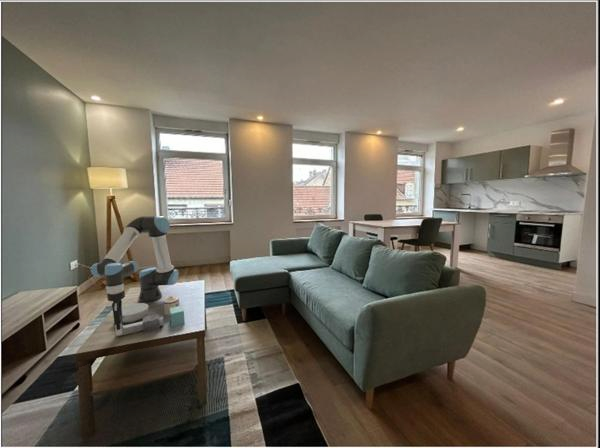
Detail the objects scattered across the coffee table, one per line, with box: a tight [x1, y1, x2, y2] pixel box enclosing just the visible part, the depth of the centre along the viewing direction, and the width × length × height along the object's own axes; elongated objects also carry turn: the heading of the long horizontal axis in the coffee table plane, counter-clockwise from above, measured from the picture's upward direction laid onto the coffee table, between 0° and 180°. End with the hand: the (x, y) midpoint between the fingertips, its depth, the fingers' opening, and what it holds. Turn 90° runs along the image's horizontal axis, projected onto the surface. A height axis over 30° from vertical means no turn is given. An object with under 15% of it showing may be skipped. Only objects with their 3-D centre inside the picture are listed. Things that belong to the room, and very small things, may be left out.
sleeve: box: [142, 313, 161, 334], centre depth 140 cm, size 7×8×6 cm
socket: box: [169, 305, 185, 328], centre depth 147 cm, size 9×7×8 cm
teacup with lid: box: [163, 294, 180, 317], centre depth 161 cm, size 12×9×12 cm
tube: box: [114, 315, 164, 337], centre depth 137 cm, size 4×23×10 cm, turn 122°
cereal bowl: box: [122, 302, 149, 323], centre depth 151 cm, size 17×17×7 cm
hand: (119, 332), depth 133 cm, fingers closed on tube, 4 cm apart
